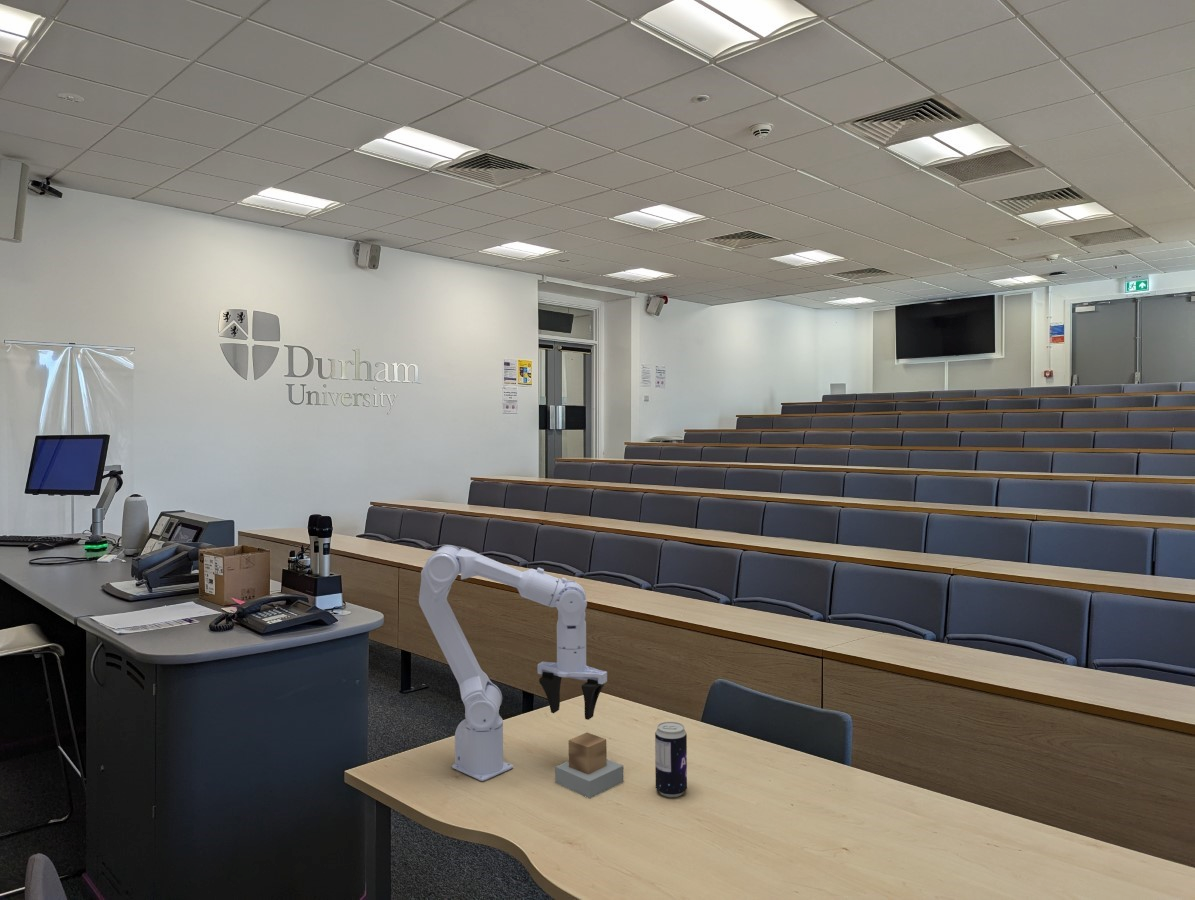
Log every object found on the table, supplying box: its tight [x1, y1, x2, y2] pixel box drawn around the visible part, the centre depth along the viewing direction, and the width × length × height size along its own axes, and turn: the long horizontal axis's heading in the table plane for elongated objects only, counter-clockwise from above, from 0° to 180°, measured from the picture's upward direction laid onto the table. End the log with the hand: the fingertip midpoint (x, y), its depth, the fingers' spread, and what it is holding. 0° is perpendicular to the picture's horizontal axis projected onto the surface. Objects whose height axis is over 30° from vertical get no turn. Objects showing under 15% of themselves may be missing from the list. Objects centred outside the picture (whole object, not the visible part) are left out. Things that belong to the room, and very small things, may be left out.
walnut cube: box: [568, 732, 608, 774], centre depth 146 cm, size 5×5×5 cm
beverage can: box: [654, 721, 688, 798], centre depth 142 cm, size 6×6×12 cm
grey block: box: [554, 758, 625, 799], centre depth 146 cm, size 9×9×4 cm
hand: (572, 714), depth 153 cm, fingers open, 7 cm apart
